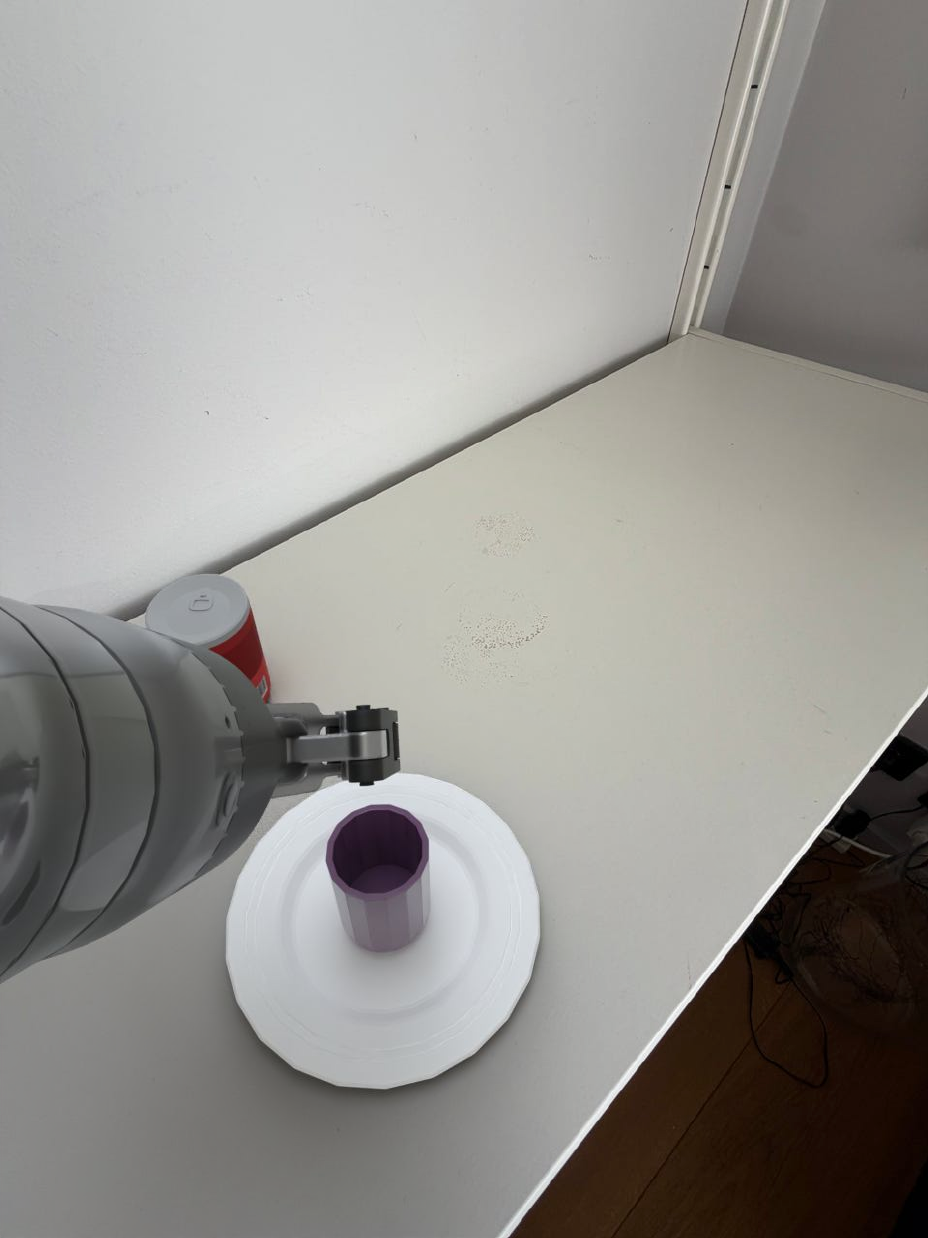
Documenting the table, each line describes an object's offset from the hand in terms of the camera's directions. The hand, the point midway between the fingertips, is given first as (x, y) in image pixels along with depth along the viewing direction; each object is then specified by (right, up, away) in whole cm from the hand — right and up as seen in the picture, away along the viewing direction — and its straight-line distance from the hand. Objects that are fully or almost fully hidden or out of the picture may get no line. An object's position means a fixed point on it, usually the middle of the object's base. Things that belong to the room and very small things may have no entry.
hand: (254, 748), depth 34 cm
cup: (+5, -13, +14) cm, 19 cm away
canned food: (-11, -1, +28) cm, 30 cm away
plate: (+5, -14, +15) cm, 21 cm away
